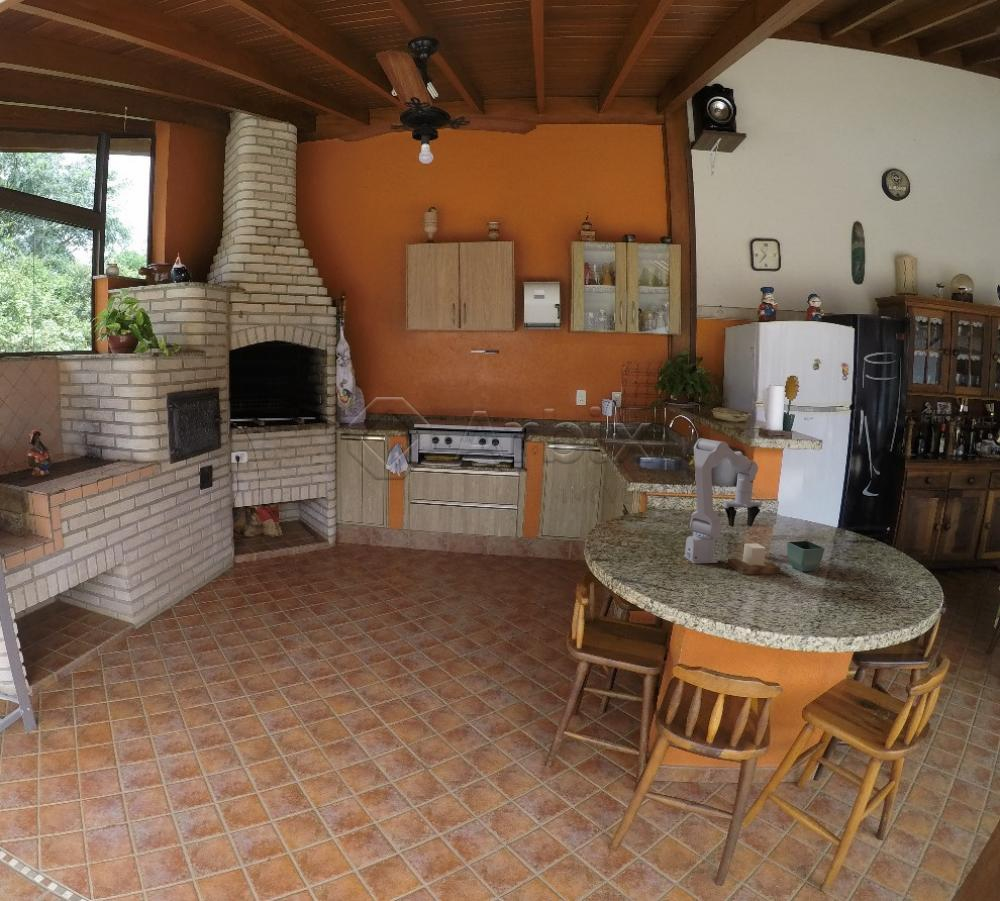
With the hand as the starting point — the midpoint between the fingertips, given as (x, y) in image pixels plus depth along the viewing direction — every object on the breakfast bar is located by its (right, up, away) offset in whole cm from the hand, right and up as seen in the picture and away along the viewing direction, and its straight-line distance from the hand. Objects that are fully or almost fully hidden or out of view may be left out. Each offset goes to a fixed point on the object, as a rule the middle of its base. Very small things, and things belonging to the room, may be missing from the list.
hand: (740, 525), depth 240 cm
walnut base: (-3, -13, -19) cm, 23 cm away
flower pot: (+15, -13, -17) cm, 27 cm away
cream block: (-3, -11, -19) cm, 22 cm away
